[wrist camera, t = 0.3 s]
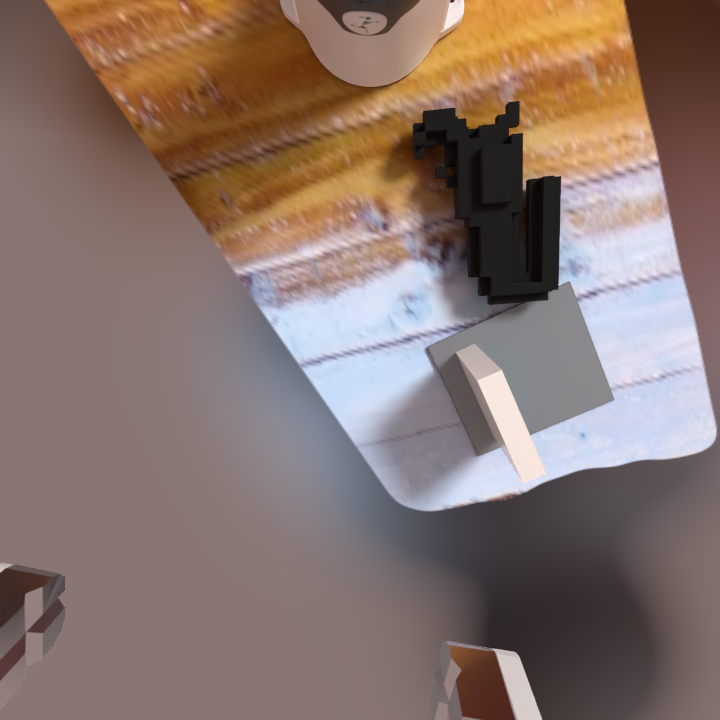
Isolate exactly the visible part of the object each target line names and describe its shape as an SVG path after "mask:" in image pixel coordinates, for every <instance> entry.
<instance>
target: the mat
mask: <svg viewBox="0 0 720 720" xmlns="http://www.w3.org/2000/svg"><path fill="white" fill-rule="evenodd" d="M473 344H476V345H477V346H478V347H479V348H480V349H481V350H482V351H483V352H484V353H485V354H486V355H487V356H488V357H489V358H490V359H491V360H492V361H493V362H494V363H495V364H496V365H497V366H498V367H499V368H500V369H501V370H502V371H503V374H504V376H505V378H506V381H507V383H508V385H509V388H510V390H511V392H512V395H513V397H514V399H515V402H516V404H517V406H518V409H519V411H520V413H521V416H522V418H523V420H524V423H525V425H526V427H527V430H528V432H529V434H530V435H531V434H533V433H536V432H538V431H541V430H543V429H545V428H548V427H550V426H553V425H555V424H557V423H560V422H562V421H565V420H567V419H570V418H572V417H574V416H577V415H579V414H582V413H584V412H586V411H589V410H591V409H594V408H596V407H599V406H601V405H603V404H606V403H608V402H611V401H613V400H614V397H613V395H612V392H611V389H610V387H609V384H608V381H607V379H606V376H605V373H604V371H603V368H602V365H601V363H600V360H599V357H598V355H597V352H596V349H595V347H594V344H593V341H592V339H591V336H590V333H589V331H588V328H587V325H586V323H585V320H584V318H583V315H582V312H581V310H580V307H579V304H578V302H577V299H576V296H575V294H574V291H573V288H572V286H571V283H570V282H567V283H565V284H563V285H561V286H558V290H552V292H548V300H545V301H532V302H524V303H521V304H519V305H517V306H515V307H513V308H511V309H508V310H506V311H504V312H502V313H500V314H498V315H495V316H493V317H491V318H489V319H487V320H484V321H482V322H480V323H478V324H476V325H474V326H471V327H469V328H467V329H465V330H463V331H461V332H458V333H456V334H454V335H452V336H450V337H448V338H445V339H443V340H441V341H439V342H437V343H434V344H432V345H430V346H428V349H429V351H430V353H431V355H432V357H433V359H434V362H435V364H436V366H437V368H438V370H439V372H440V375H441V377H442V379H443V381H444V383H445V385H446V388H447V390H448V392H449V394H450V396H451V398H452V400H453V403H454V405H455V407H456V409H457V411H458V413H459V416H460V418H461V420H462V422H463V424H464V426H465V429H466V431H467V433H468V435H469V437H470V439H471V441H472V444H473V446H474V448H475V450H476V452H477V454H478V456H480V455H483V454H485V453H488V452H490V451H492V450H495V449H497V448H500V446H499V444H498V443H497V441H496V439H495V438H494V436H493V434H492V432H491V430H490V428H489V425H488V423H487V421H486V419H485V417H484V414H483V412H482V410H481V408H480V405H479V403H478V401H477V399H476V397H475V394H474V392H473V390H472V388H471V385H470V383H469V381H468V379H467V377H466V374H465V372H464V370H463V368H462V365H461V363H460V361H459V359H458V357H457V354H456V352H457V351H460V350H462V349H464V348H466V347H468V346H471V345H473Z"/></svg>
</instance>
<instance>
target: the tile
mask: <svg viewBox="0 0 720 720" xmlns="http://www.w3.org/2000/svg"><path fill="white" fill-rule="evenodd" d="M456 354H457V357H458V359H459V361H460V363H461V365H462V368H463V370H464V372H465V374H466V377H467V379H468V381H469V383H470V385H471V388H472V390H473V392H474V394H475V397H476V399H477V401H478V403H479V405H480V408H481V410H482V412H483V414H484V417H485V419H486V421H487V423H488V425H489V428H490V430H491V432H492V434H493V436H494V438H495V439H496V441H497V443H498V444H499V446H500V447H501V449H502V451H503V452H504V454H505V455H506V457H507V459H508V460H509V462H510V463H511V465H512V467H513V468H514V470H515V471H516V473H517V475H518V476H519V478H520V479H521V481H522V483H525V482H527V481H530V480H533V479H535V478H538V477H540V476H543V475H545V474H546V471H545V469H544V467H543V464H542V462H541V460H540V457H539V455H538V453H537V450H536V448H535V446H534V444H533V441H532V439H531V437H530V434H529V432H528V430H527V427H526V425H525V423H524V420H523V418H522V416H521V413H520V411H519V409H518V406H517V404H516V402H515V399H514V397H513V395H512V392H511V390H510V388H509V385H508V383H507V381H506V378H505V376H504V374H503V371H502V370H501V369H500V368H499V367H498V366H497V365H496V364H495V363H494V362H493V361H492V360H491V359H490V358H489V357H488V356H487V355H486V354H485V353H484V352H483V351H482V350H481V349H480V348H479V347H478V346H477V345H476V344H473V345H471V346H468V347H466V348H464V349H462V350H460V351H457V352H456Z"/></svg>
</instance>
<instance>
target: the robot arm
mask: <svg viewBox="0 0 720 720" xmlns="http://www.w3.org/2000/svg"><path fill="white" fill-rule="evenodd" d="M280 5H281V10H282V12H283V14H284V15H285V17H286V18H287V19H288V20H289V21H290V22H291V23H292V24H294V25H295V26H296V27H297V28H298V29H300V30H301V31H302V32H303V34H304V35H305V37H306V38H307V40H308V42H309V44H310V46H311V48H312V50H313V52H314V53H315V55H316V56H317V58H318V59H319V61H320V62H321V63H322V64H323V65H324V66H325V67H326V68H327V69H328V70H329V71H330V72H331V73H332V74H334V75H335V76H337V77H338V78H340V79H342V80H343V81H346V82H348V83H351V84H354V85H358V86H364V87H377V86H383V85H387V84H390V83H393V82H396V81H398V80H400V79H401V78H403V77H405V76H406V75H408V74H409V73H410V72H412V71H413V70H414V69H415V68H416V67H417V66H418V65H419V64H420V63H421V62H422V61H423V59H424V58H425V57H426V55H427V54H428V52H429V51H430V50H431V48H432V47H433V45H434V44H435V43H436V42H437V41H438V40H439V39H440V38H442V37H444V36H445V35H447V34H448V33H450V32H451V31H453V30H454V29H455V28H456V27H457V26H458V25H459V24H460V23H461V21H462V19H463V14H464V0H455V1H454V2H453V3H450V0H280ZM64 591H65V576H63V575H61V574H58V573H53V572H49V571H44V570H39V569H34V568H29V567H24V566H19V565H11V564H7V563H2V562H0V710H1V709H2V707H3V706H4V705H5V704H6V703H7V701H8V700H9V699H10V698H11V697H12V695H13V694H14V693H15V692H16V691H17V689H18V688H19V687H20V686H21V685H22V683H23V682H24V681H25V675H26V668H27V667H29V666H31V665H33V664H35V663H36V662H38V661H40V660H42V659H43V658H44V657H45V655H46V654H47V653H48V652H49V650H50V649H51V648H52V647H53V645H54V643H55V641H56V639H57V638H58V635H59V634H60V632H61V630H62V626H63V622H64V618H65V607H64V605H63V604H62V602H61V601H60V599H59V598H58V597H59V596H60V595H61V594H62V593H63V592H64ZM440 661H441V668H440V669H438V670H437V671H436V672H435V674H434V679H433V683H432V691H431V718H432V720H542V718H541V715H540V713H539V710H538V707H537V704H536V702H535V699H534V696H533V693H532V691H531V688H530V685H529V682H528V679H527V677H526V674H525V671H524V668H523V666H522V663H521V660H520V657H519V656H518V655H517V654H516V652H511V651H505V650H499V649H490V648H485V647H479V646H474V645H468V644H461V643H455V642H449V641H445V642H444V644H443V645H442V648H441V652H440Z"/></svg>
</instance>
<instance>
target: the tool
mask: <svg viewBox="0 0 720 720" xmlns="http://www.w3.org/2000/svg"><path fill="white" fill-rule="evenodd" d="M518 125H519V101H516V102H509V103H508V104H507V105H506V114H503V115H498V116H497V117H496V118H495V124H492V125H482V126H479V127H478V128H477V129H469V127H466V118H464V119H458V117H457V116H456V115H455V108H449V109H439V110H429V111H423V123H415V124H413V151H414V159H423V158H425V157H426V154H425V147H434V146H443V148H444V150H445V166H436V168H435V179H438V178H445V179H446V188H454V201H455V219H462V218H465V228H467V255H468V277H478V295H479V296H486V295H487V296H488V304H489V305H494V304H506V303H519V302H532V301H545V300H548V292H552V290H558V281H559V239H560V196H561V176H559V177H554V176H545V177H542V178H538V179H529V180H527V181H526V272H521V273H519V212H522V193H523V133H519V134H512V135H510V136H509V128H514V127H517V126H518ZM452 166H453V168H454V176H447V167H452Z"/></svg>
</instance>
